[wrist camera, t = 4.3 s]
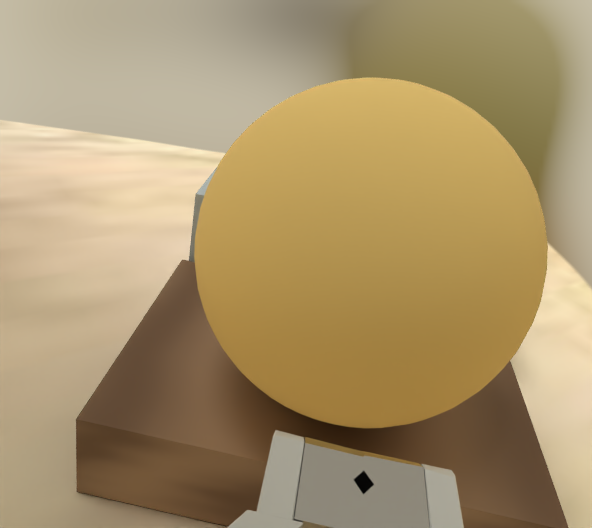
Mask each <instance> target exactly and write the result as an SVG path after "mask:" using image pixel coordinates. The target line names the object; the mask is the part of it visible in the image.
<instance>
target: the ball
mask: <svg viewBox="0 0 592 528" xmlns="http://www.w3.org/2000/svg"><path fill="white" fill-rule="evenodd" d="M547 250H548V245H547V237H546V228H545V221H544V216H543V212H542V208H541V205H540V201H539V198H538V194H537V191H536V189H535V187H534V185H533V182H532V181H531V178H530V176H529V173H528V171H527V170H526V168H525V166H524V165H523V163H522V162H521V160H520V159H519V157H518V155H517V154H516V152H515V151H514V149H513V148H512V146H511V145H510V144H509V143H508V142H507V141H506V140H505V139H504V137H503V136H502V135H501V134H500V133H499V132H498V131H497V129H496V128H495V127H494V126H493V125H491V124H490V123H489V122H488V121H487V120H485V119H484V118H483V117H482V116H480V115H479V114H478V113H477V112H475V111H474V110H473V109H471V108H470V107H468V106H466V105H465V104H463V103H461V102H460V101H458V100H456V99H455V98H453V97H451V96H449V95H447V94H445V93H442V92H439V91H437V90H434V89H432V88H429V87H426V86H424V85H420V84H417V83H413V82H409V81H403V80H397V79H386V78H358V79H346V80H340V81H335V82H331V83H327V84H323V85H319V86H315V87H313V88H311V89H309V90H306V91H303V92H301V93H298V94H296V95H294V96H292V97H290V98H288V99H287V100H285V101H283V102H281V103H279V104H278V105H276V106H274V107H273V108H271V109H270V110H268V111H267V112H266V113H265V114H263V115H262V116H261V117H260V118H258V119H257V120H256V121H255V122H253V123H252V124H251V125H250V126H249V127H248V128H247V129H246V130H245V131H244V132H243V133H242V134H241V136H240V137H239V138H238V139H237V140H236V141H235V142H234V143H233V144H232V146H231V147H230V149H229V150H228V151H227V153H226V154H225V156H224V157H223V159H222V160H221V162H220V163H219V165H218V167H217V169H216V171H215V173H214V175H213V177H212V179H211V181H210V183H209V185H208V187H207V189H206V192H205V195H204V198H203V201H202V204H201V207H200V212H199V218H198V223H197V229H196V234H195V251H194V260H195V270H196V278H197V286H198V291H199V295H200V298H201V302H202V305H203V308H204V311H205V314H206V317H207V320H208V322H209V324H210V326H211V328H212V330H213V332H214V334H215V336H216V338H217V340H218V342H219V343H220V345H221V347H222V348H223V350H224V351H225V352H226V354H227V355H228V356H229V358H230V359H231V360H232V362H233V363H234V364H235V366H236V367H237V368H238V369H239V371H240V372H241V373H242V374H244V375H245V376H246V377H247V378H248V379H249V380H250V381H251V382H252V383H253V384H254V385H255V386H257V387H258V388H259V389H260V390H261V391H263V392H264V393H265V394H267V395H268V396H269V397H271V398H272V399H274V400H275V401H277V402H279V403H280V404H282V405H283V406H285V407H287V408H289V409H291V410H293V411H295V412H298V413H300V414H302V415H305V416H308V417H310V418H313V419H316V420H319V421H323V422H327V423H330V424H335V425H340V426H346V427H355V428H384V427H392V426H399V425H407V424H411V423H415V422H419V421H423V420H425V419H428V418H431V417H433V416H436V415H438V414H441V413H443V412H445V411H448V410H450V409H452V408H454V407H455V406H457V405H459V404H460V403H462V402H463V401H465V400H467V399H468V398H470V397H471V396H473V395H474V394H476V393H477V392H479V391H480V390H481V389H482V388H484V387H485V386H486V385H487V384H488V383H489V382H490V381H491V380H492V379H494V378H495V377H496V376H497V375H498V374H499V373H500V371H501V370H502V369H503V368H504V367H505V366H506V365H507V363H508V362H509V361H510V360H511V358H512V357H513V356H514V355H515V353H516V352H517V350H518V349H519V347H520V345H521V343H522V341H523V340H524V338H525V336H526V334H527V332H528V331H529V329H530V327H531V325H532V323H533V321H534V318H535V316H536V313H537V310H538V307H539V305H540V302H541V297H542V292H543V287H544V282H545V277H546V271H547Z"/></svg>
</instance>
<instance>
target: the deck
mask: <svg viewBox="0 0 592 528" xmlns="http://www.w3.org/2000/svg"><path fill="white" fill-rule="evenodd" d="M275 430H278V431H282V432H285V433H289V434H293V435H297V436H301V437H304V439H305V437H308V438H312V439H316V440H320V441H323V442H327V443H331V444H335V445H339V446H343V447H347V448H351V449H355V450H359V451H365V452H370V453H374V454H379V455H383V456H388V457H393V458H397V459H402V460H406V461H411V462H416V463H419V464H420V465H421V464H425V465H430V466H435V467H439V468H444V469H448V470H452V472H453V473H454V475H455V478H456V484H457V489H458V495H459V501H460V507H461V513H462V519H463V525H464V528H568V525H567V522H566V519H565V516H564V514H563V511H562V508H561V505H560V502H559V499H558V496H557V494H556V491H555V488H554V485H553V482H552V479H551V476H550V474H549V471H548V468H547V465H546V462H545V459H544V456H543V454H542V451H541V448H540V445H539V442H538V439H537V436H536V433H535V431H534V428H533V425H532V422H531V419H530V416H529V413H528V411H527V408H526V405H525V402H524V399H523V396H522V393H521V391H520V388H519V385H518V382H517V379H516V376H515V373H514V371H513V368H512V365H511V362H510V361H509V362H508V363H507V365H506V366H505V367H504V368H503V369H502V370H501V371H500V373H499V374H498V375H497V376H496V377H495V378H494V379H492V380H491V381H490V382H489V383H488V384H487V385H486V386H485V387H484V388H482V389H481V390H480V391H479V392H477V393H476V394H474V395H473V396H471V397H470V398H468V399H467V400H465V401H463V402H462V403H460V404H459V405H457V406H455V407H454V408H452V409H450V410H448V411H445V412H443V413H441V414H438V415H436V416H433V417H431V418H428V419H425V420H423V421H419V422H415V423H411V424H407V425H399V426H392V427H384V428H355V427H346V426H340V425H335V424H330V423H327V422H323V421H319V420H316V419H313V418H310V417H308V416H305V415H302V414H300V413H298V412H295V411H293V410H291V409H289V408H287V407H285V406H283V405H282V404H280V403H279V402H277V401H275V400H274V399H272V398H271V397H269V396H268V395H267V394H265V393H264V392H263V391H261V390H260V389H259V388H258V387H257V386H255V385H254V384H253V383H252V382H251V381H250V380H249V379H248V378H247V377H246V376H245V375H244V374H242V373H241V372H240V371H239V369H238V368H237V367H236V366H235V364H234V363H233V362H232V360H231V359H230V358H229V356H228V355H227V354H226V352H225V351H224V350H223V348H222V347H221V345H220V343H219V342H218V340H217V338H216V336H215V334H214V332H213V330H212V328H211V326H210V324H209V322H208V320H207V317H206V314H205V311H204V308H203V305H202V302H201V298H200V295H199V291H198V286H197V278H196V270H195V262H191V261H187V260H182V261H181V262H180V264H179V265H178V267H177V268H176V270H175V271H174V273H173V274H172V276H171V277H170V279H169V280H168V282H167V283H166V285H165V286H164V288H163V289H162V291H161V292H160V294H159V295H158V297H157V298H156V300H155V301H154V303H153V304H152V306H151V307H150V309H149V310H148V312H147V313H146V315H145V316H144V318H143V319H142V321H141V322H140V324H139V325H138V327H137V328H136V330H135V331H134V333H133V334H132V336H131V337H130V339H129V341H128V342H127V344H126V345H125V347H124V348H123V350H122V351H121V353H120V354H119V356H118V357H117V359H116V360H115V362H114V363H113V365H112V366H111V368H110V369H109V371H108V372H107V374H106V375H105V377H104V378H103V380H102V381H101V383H100V384H99V386H98V387H97V389H96V390H95V392H94V393H93V395H92V396H91V398H90V399H89V401H88V402H87V404H86V405H85V407H84V408H83V410H82V411H81V413H80V414H79V416H78V417H77V419H76V459H77V492H81V493H85V494H90V495H94V496H98V497H103V498H107V499H111V500H116V501H120V502H124V503H129V504H133V505H138V506H142V507H146V508H151V509H155V510H159V511H164V512H168V513H172V514H177V515H181V516H185V517H190V518H194V519H198V520H203V521H207V522H211V523H216V524H220V525H224V526H229V525H231V524H232V523H233V522H234V521H235V520H236V519H237V518H239V517H240V516H241V515H242V514H243V513H244V512H245V511H247V510H251V511H257V506H258V502H259V497H260V493H261V488H262V484H263V479H264V475H265V470H266V466H267V461H268V457H269V452H270V448H271V443H272V439H273V435H274V433H275Z"/></svg>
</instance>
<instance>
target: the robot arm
mask: <svg viewBox="0 0 592 528" xmlns="http://www.w3.org/2000/svg"><path fill="white" fill-rule="evenodd" d="M227 528H464V525H463V519H462V513H461V507H460V501H459V495H458V489H457V484H456V478H455V475H454V473H453V472H452V470H448V469H444V468H439V467H435V466H430V465H425V464H421V465H420V464H419V463H416V462H411V461H406V460H402V459H397V458H393V457H388V456H383V455H379V454H374V453H370V452H365V451H359V450H355V449H351V448H347V447H343V446H339V445H335V444H331V443H327V442H323V441H320V440H316V439H312V438H308V437H305V439H304V437H301V436H297V435H293V434H289V433H285V432H282V431H278V430H275V433H274V435H273V439H272V443H271V448H270V452H269V457H268V461H267V466H266V470H265V475H264V479H263V484H262V488H261V493H260V497H259V502H258V506H257V511H251V510H247V511H245V512H244V513H243V514H242V515H241V516H240V517H239V518H237V519H236V520H235V521H234V522H233V523H232V524H231V525H229V526H228V527H227Z"/></svg>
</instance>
